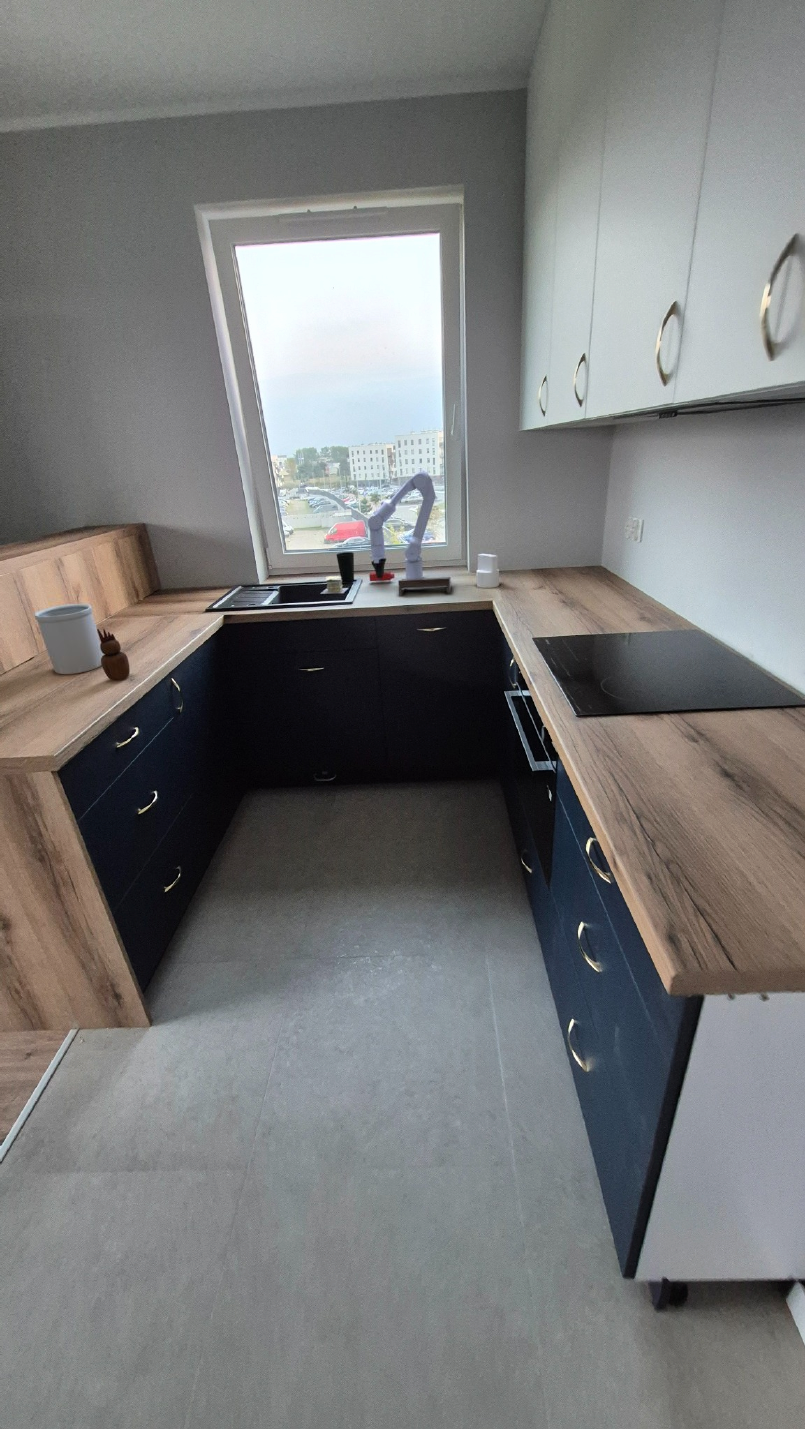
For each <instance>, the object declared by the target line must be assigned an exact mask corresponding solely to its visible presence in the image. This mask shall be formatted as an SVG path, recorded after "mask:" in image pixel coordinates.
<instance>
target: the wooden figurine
mask: <svg viewBox="0 0 805 1429" xmlns="http://www.w3.org/2000/svg"><path fill="white" fill-rule="evenodd" d="M96 629H97V633H98V637H99V640H100V649H101V651H102V653H103V656H102V658H101V667H102V670H103V672H104V674H105V676H106V677H107V678H108V679H109V680H110V681H122V680H125V679H127V678H128V677H129V676H130V672H131V671H130V661H129V658H128V656H127V654H126V653H125V652H123V651H122V646H121V644H120V642H119V640H117V639H116V636H115V635H114V633H110V631H106V629H105V628H103V629H102V632H103V634H102V632H101V631H100V629H99V628H96Z"/></svg>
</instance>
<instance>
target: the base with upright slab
mask: <svg viewBox="0 0 805 1429" xmlns="http://www.w3.org/2000/svg"><path fill="white" fill-rule="evenodd" d="M498 561H499V555H498V554H497V555H496V554H490V553H478V554H477V570H476V587H477V588H483V589H491V588H495V587H498V586H500V569H499V562H498Z"/></svg>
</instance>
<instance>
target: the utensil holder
mask: <svg viewBox="0 0 805 1429" xmlns="http://www.w3.org/2000/svg"><path fill="white" fill-rule="evenodd" d="M33 616H34V620H36V621H37V624H38V628H39V630H40V633H41V636H42V640H43V643H44V645H45V650H46V651H47V655H48V657H49V660H50V661H51V662H50V663H51V665H52V668H53V671H54V672H55V673H56V674H58V675H74V674H75V675H76V674H80V673H85V672H89V671H92V670H95V669H97V668H100V667H102V665H101V658H102V656H103V655H104V654H103V653H102V651H101V649H100V644H101V641H100V638H99V634H98V631H97V629H98V628H97V626H96V622H95V618H94V615H93V608H92V605H91V604H88V603H87V604H86V603H71V604H62V605H57V606H51V607H47V608H44V609H41V610H38V611H36V612H35V613H34V615H33Z"/></svg>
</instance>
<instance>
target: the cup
mask: <svg viewBox="0 0 805 1429" xmlns="http://www.w3.org/2000/svg"><path fill="white" fill-rule="evenodd" d="M354 556H355V553H354V552H352V551H344V552H338V553H336V559H337V560H336V561H337V564H338V569H339V575H340V577H341V578H340V580H342V581H341V582H342V583H352V582H355V557H354Z"/></svg>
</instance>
